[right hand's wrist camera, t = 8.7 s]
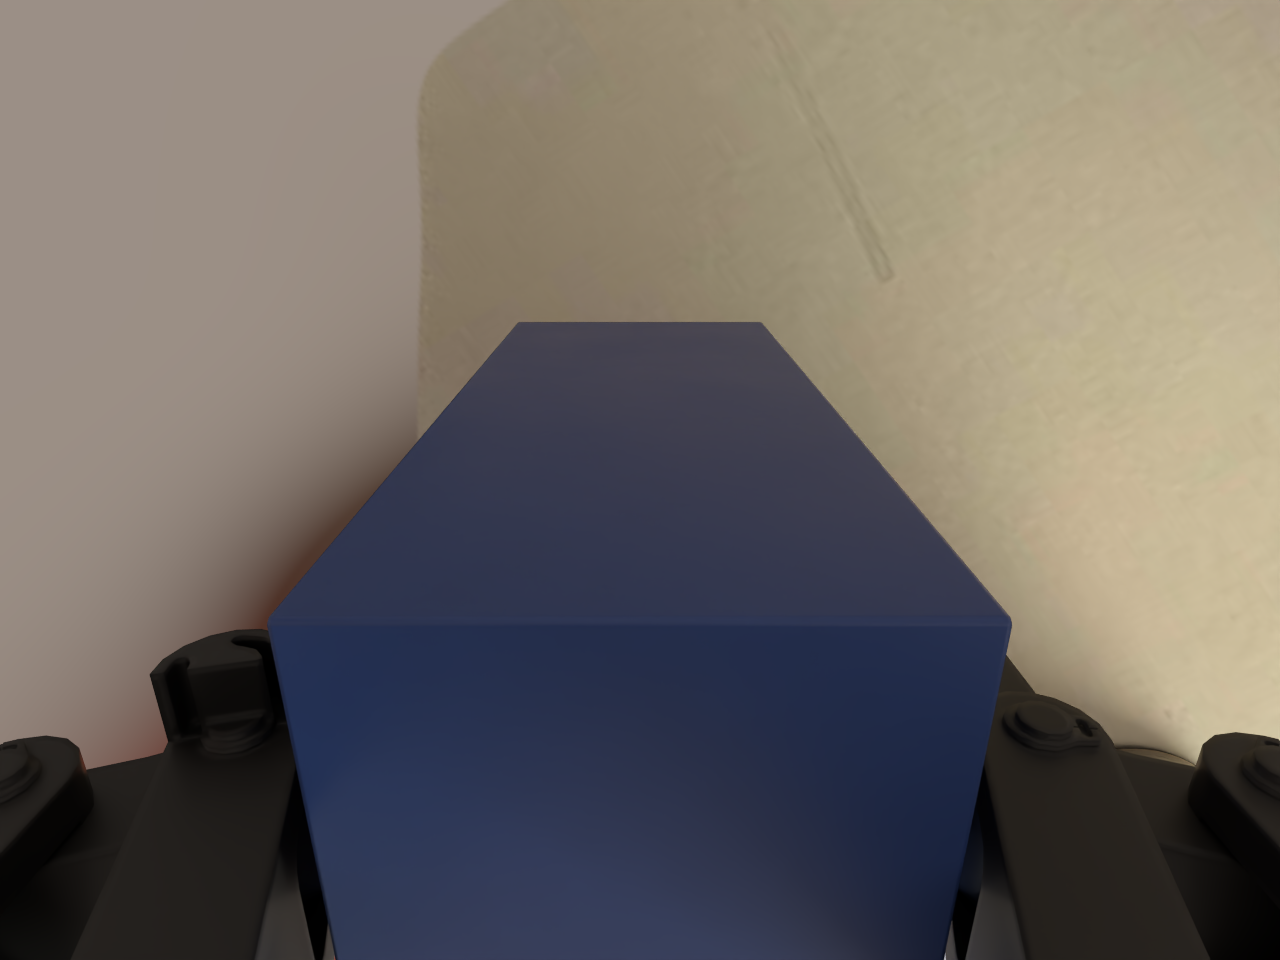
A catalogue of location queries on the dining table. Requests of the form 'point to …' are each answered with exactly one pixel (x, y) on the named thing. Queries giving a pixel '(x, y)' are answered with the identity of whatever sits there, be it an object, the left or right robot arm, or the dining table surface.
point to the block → (639, 671)
